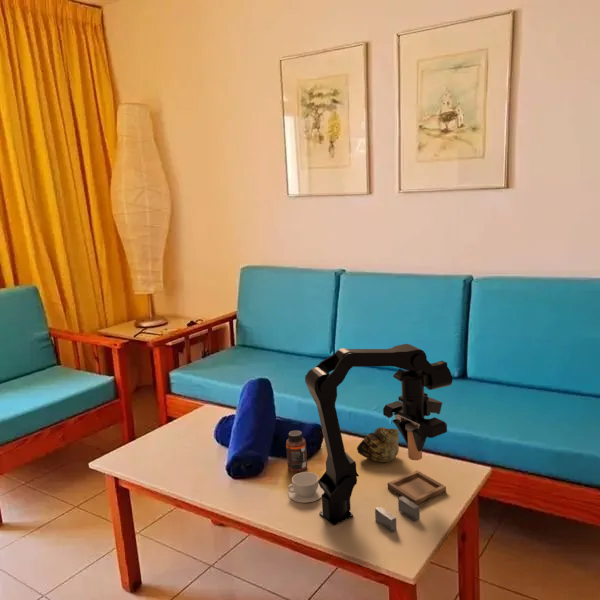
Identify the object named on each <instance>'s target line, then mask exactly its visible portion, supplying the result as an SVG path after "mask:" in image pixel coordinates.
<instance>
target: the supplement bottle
mask: <svg viewBox="0 0 600 600" xmlns="http://www.w3.org/2000/svg"><path fill="white" fill-rule="evenodd" d="M302 433H303V432H302V431H301V430H291V431H289V433H288V439H286V443H285V449H286V461H287V469H288V470H289V471H290V472H293V473H298V472H299V473H301V472H304V471H305V470H306V469H308V468H307V467H308V455H307V443H306V439H305V438H304V437H303V434H302Z"/></svg>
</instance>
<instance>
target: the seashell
mask: <svg viewBox="0 0 600 600" xmlns="http://www.w3.org/2000/svg"><path fill="white" fill-rule="evenodd" d="M399 440H400V431H399V429H398V428H388V427H387V428H386V427H382V426H380V427H376V429H375V430H374V432H370V433H368V434H366V435H365V437H364V439H362V440H361V442H360V443H359V444H358V446H356V449H357V453H358V455H360V456H363V457H364V458H367V459H369V460H370V461H373V462H376V463H387V462H391V460H392V461H393V460H394V459H396V457H397V456H398V454H399V452H400V451H399V450H400V447H399Z"/></svg>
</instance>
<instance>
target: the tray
mask: <svg viewBox="0 0 600 600" xmlns="http://www.w3.org/2000/svg"><path fill="white" fill-rule="evenodd" d="M387 490H389V491H390V492H392V493H393V494H395V495H397V496H398V498H400V497H402V496H404V497H405V498H407V499H408V500H410V501H411V502H413V503H414V504H416V505H418V506H419V507H420V506H421V505H423V504H425V503H427V502H430V501H432V500H433V499H435V498H438V497H440V496H442V495H444V494H446V493H447V485H443V484H442V483H441V482H439V481H437V480H435V479H434V478H431V477H430V476H427V475H426V474H424V473H422V472H421V471H419V470H418V469H417V470H414V471H412V472H410V473H407V474H405V475H402V476H401V477H398V478H396V479H393V480H391V481H389V482H387Z"/></svg>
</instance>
